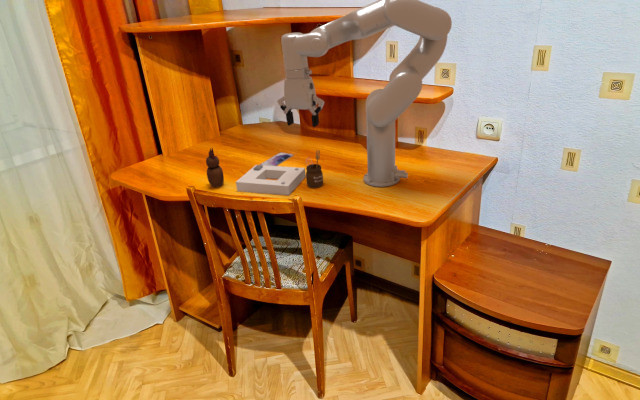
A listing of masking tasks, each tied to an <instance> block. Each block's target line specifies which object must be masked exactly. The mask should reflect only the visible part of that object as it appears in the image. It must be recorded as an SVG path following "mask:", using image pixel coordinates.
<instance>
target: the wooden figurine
mask: <svg viewBox="0 0 640 400" xmlns="http://www.w3.org/2000/svg"><path fill="white" fill-rule="evenodd" d="M205 164H206V167H207V169H206V176H207V177H206V178H207V181H208V183H209V185H210V186H211V187H213V188H219V187H221V186H223V184H224V183H225V182H224V180H225V178H224V171H223V168H222V167H221V166H220V159H219V157H218V156H217V155H215V152H214V149H213V147H210V148H209V150H208V156H207V157H206V159H205Z"/></svg>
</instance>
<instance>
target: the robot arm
mask: <svg viewBox="0 0 640 400" xmlns="http://www.w3.org/2000/svg"><path fill="white" fill-rule="evenodd" d="M452 23H453V22H452V18H451V15H450V14H449V13H448V12H447V11H446V10H444V9H442V8H440V7H438V6H434V5H431V4H428V3H426V2H423V1H421V0H376V1H373V2H371V3H369V4H367V5H365V6H362V7H359V8H358V9H354V11H351V12H349V13H348V14H345V15H343V16H341V17H339V18H337V19H334V20H332V21H330V22H327V23H326V24H323V25H320V26H318V27H315V28H314V29H312V30H311V31H310V32H308V33H302V32H289V33H285V34H283V35H282V36H281V39H280V42H281V50H282V57H283V65H284V72H285V78H284V83H283V93H284V94H283V95H284V96H282V97H281V98H279V99H278V100H277V104H278V105H279V107H280V109H281V110H282V111H283V114H285V118H286V124H287V126H289V127H290V126H291V125H293V124H294V123H295V121H294V119H295V118H294V112H293V111H292V110H307V111H309V112H310V113H311V114H312V115H311V123H312V125H311V126H312V128H316V127H317V126H318V125H319V123H320V117H319V113H320V112H321V111H322V110H323V107H324V105H325V101H324V100H323V99H321V98H319V97H318V96H317V94H316V93H317V92H316V87H315V83H314V81H313V78H312V77H313V76H310V75H312V74H313V70H312V69H310V67H309V62H308V57H312V58H319V57H322V56H324V55H326V54H327V52H328V51H329V50H330V49H332V48H334V47H336V46H339V45H342V44H343V43H346V42H351V41H354V40H363V39H366V38H369V37H371V36H373V35H376V34H377V33H380V32H383V31H385V30H388V29H390V28H392V27H394V26H395V27H398V28H400V29H401V30H404V31H406V32H409V33H412V34H414V35H417V36H418V37H419V38H418V40H417V43H416V44H415V45H414V47H413V48H412V50H410V51H409V52H408V54H407V55H406V56H405V57H404V59H402V61H401V62H400V63H399V64H398V65H397V66H396V67H395V68H394V69H393V70H392V71H391V72H390V75H389V79H388V83H387V84H386V85H385V86H384V88H377V89H374V90H372V91H371V92H370V93H369V95H368V96H367V97H366V100H365V120H366V121H365V123H366V154H367V158H366V159H367V173H365V174H364V176H363V182H364V184H367V185H368V186H371V187H376V188H377V187H378V188H379V187H380V188H382V187H383V188H384V187H391V186H393V185H396V184H398V183H399V181H400V179H401V178H402V179H408V176H409V175H408V174H409V173H408V172H406V170H403V169H402V170H399V168H398V165H396V120H397V119H398V118H399V117H400V116H401V115H403V113H404V112H405V111H406V110H407V109H408V108H409V106H411V104H413V102H414V101H416V99H417V98H418V97H419V95H420V93H421V91H422V88H423V79H424V78H426V76H427V75H428V74H429V73H430V71H432V70H433V68H434V67H435V66H436V64H437V63H438V62H439V60H440V59H441V58H442V56H443V55H444V53H445V50H446V47H447V43H448V34H449V33H450V31H451V29H452V25H453V24H452Z"/></svg>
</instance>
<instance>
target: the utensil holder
mask: <svg viewBox="0 0 640 400" xmlns="http://www.w3.org/2000/svg"><path fill="white" fill-rule="evenodd" d="M315 151H316V152H315V159H316V163H311V162H310V160H309V159H310V156H309V157H307V158H306V161H308V160H309V161H308V162H309V163H310V164H308V162H305V163H306V167H305V174H306V177H305V178H306V186H307V187H308V188H311V189H316V188H320V187H323V185H324V175H323V170H322V166H321V164H319V163H318V161H319V160H320V157H321V155H320V154H321V150H319V149H316V150H315Z"/></svg>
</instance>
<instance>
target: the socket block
mask: <svg viewBox="0 0 640 400" xmlns="http://www.w3.org/2000/svg"><path fill="white" fill-rule="evenodd" d="M305 178H306V167H294V166H281V165H278V166H266V165H260V164H255V165H253V167H251V168H250V169H249V170H248V171H247V172H246V173H244V174H243V175H242V176H241V177H240V178H239V179H237V180H236V181H235V187H236V192H245V193H247V192H248V193H259V194H267V195H268V194H269V195H278V196H279V195H281V196H290V195H291V194H292V192H294V190H296V188H297V187H298V186H299V185H300V184H301V182H302V181H304V180H305Z"/></svg>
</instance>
